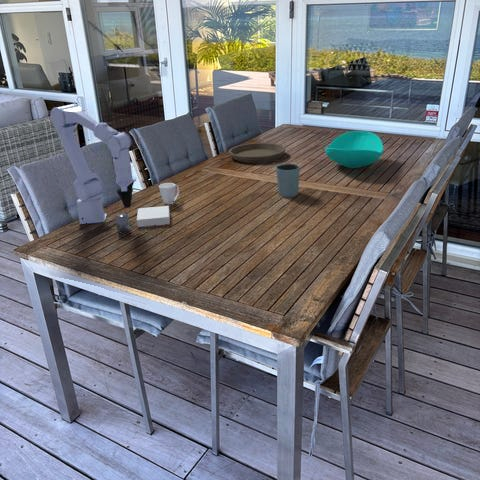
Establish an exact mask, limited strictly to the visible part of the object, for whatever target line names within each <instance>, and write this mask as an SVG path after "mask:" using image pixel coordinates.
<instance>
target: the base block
mask: <svg viewBox="0 0 480 480" xmlns="http://www.w3.org/2000/svg"><path fill="white" fill-rule="evenodd" d="M170 214H171V212H170V205H164V206H163V205H162V206H152V207H142V208H141V207H139V208H137V216H136V224H137V228H143V227H144V228H145V227H154V225H156V226H164V225H165V226H166V224H167V225H170V224H171V215H170Z"/></svg>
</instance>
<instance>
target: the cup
mask: <svg viewBox="0 0 480 480" xmlns="http://www.w3.org/2000/svg"><path fill="white" fill-rule="evenodd" d="M158 189H159V191H160V197H161V198H162V201H163V203H164V202H165V203H170V204H172V205H174V204H175V201H176V200H177V199H178V197H179V195H180V188H179V185H178V184H175V183H174V182H164V183H161V184H160V185H158ZM176 189H177V192H176ZM173 201H174V202H173ZM171 202H172V203H171ZM173 203H174V204H173Z"/></svg>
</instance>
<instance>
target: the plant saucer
mask: <svg viewBox="0 0 480 480" xmlns="http://www.w3.org/2000/svg"><path fill="white" fill-rule="evenodd" d="M285 152H286V147H285V146H284V145H282V144H277V143H272V142H254V143H244V144H240V145H237V146H234V147H232V148H230V149H229V150H228V153H229V155H230V156H231V157H232V158H233V159H234V160H235V161H236V160H237V162H240V163H244V162H245V163H246V164H264V162H265V163H271V162H273V161H274V162H275V161H277V160H279V159H281V157H282V156H283V155H284V154H285ZM270 161H271V162H270ZM245 163H244V164H245Z"/></svg>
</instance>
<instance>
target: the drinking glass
mask: <svg viewBox="0 0 480 480" xmlns="http://www.w3.org/2000/svg"><path fill="white" fill-rule="evenodd" d="M300 169H301V167H300V165H299V164H295V163H283V164H282V163H281V164H279V165H276V167H275V172H276V180H277V182H276V183H277V192H278V193H277V194H278V195H279V196H281V197H284V198H285V197H286V198H292V197H296V196H298V195H299V191H300V190H299V185H300V172H301V171H300Z"/></svg>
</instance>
